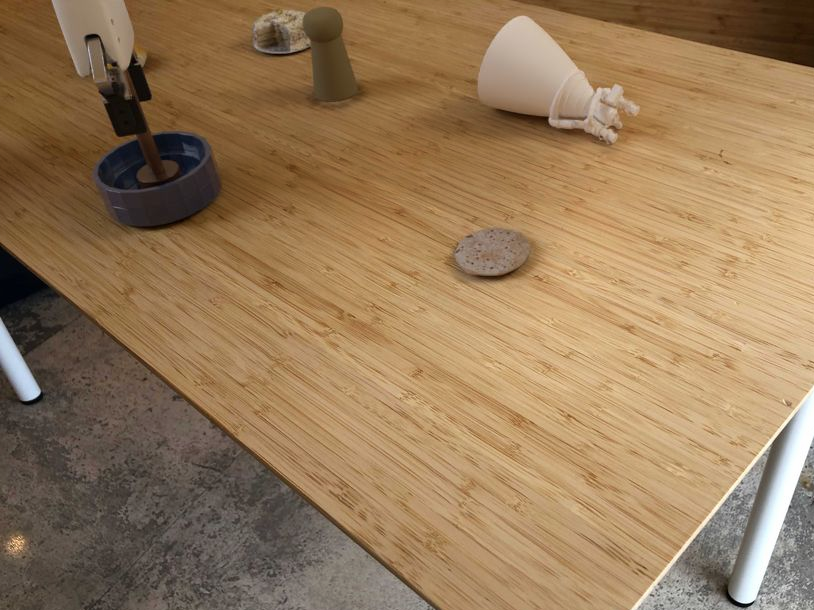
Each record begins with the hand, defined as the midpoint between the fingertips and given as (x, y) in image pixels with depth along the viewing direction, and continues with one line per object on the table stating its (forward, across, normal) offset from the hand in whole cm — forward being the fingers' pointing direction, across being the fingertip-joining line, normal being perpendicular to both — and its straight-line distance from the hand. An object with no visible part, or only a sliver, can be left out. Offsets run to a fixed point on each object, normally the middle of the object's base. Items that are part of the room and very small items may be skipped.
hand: (135, 115), depth 92 cm
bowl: (+11, 0, 0) cm, 11 cm away
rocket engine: (+11, -1, +47) cm, 48 cm away
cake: (+11, -39, +16) cm, 43 cm away
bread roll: (+11, -40, -9) cm, 42 cm away
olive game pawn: (+11, -20, +22) cm, 32 cm away
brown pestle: (+10, 0, 0) cm, 10 cm away
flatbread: (+11, +23, +34) cm, 42 cm away
